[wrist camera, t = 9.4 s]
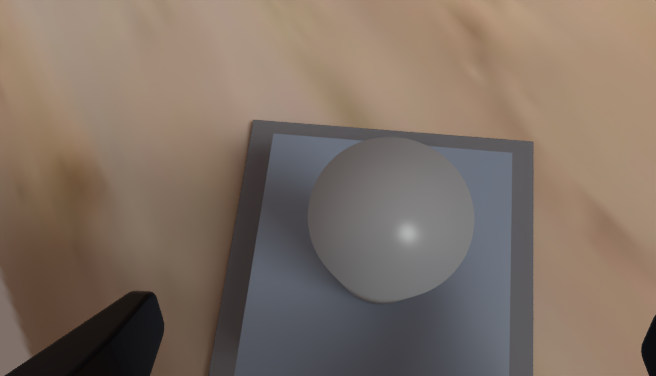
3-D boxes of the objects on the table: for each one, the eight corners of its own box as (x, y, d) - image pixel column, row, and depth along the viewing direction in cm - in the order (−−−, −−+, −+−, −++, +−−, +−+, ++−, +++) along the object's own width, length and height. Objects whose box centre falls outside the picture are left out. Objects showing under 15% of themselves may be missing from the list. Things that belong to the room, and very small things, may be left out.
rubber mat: (527, 460, 16) (532, 464, 15) (206, 409, 17) (202, 412, 17) (528, 146, 19) (533, 141, 18) (256, 124, 20) (253, 119, 20)
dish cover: (476, 395, 16) (686, 561, 5) (262, 364, 17) (88, 456, 6) (483, 184, 18) (646, 8, 8) (291, 167, 19) (196, -12, 8)
